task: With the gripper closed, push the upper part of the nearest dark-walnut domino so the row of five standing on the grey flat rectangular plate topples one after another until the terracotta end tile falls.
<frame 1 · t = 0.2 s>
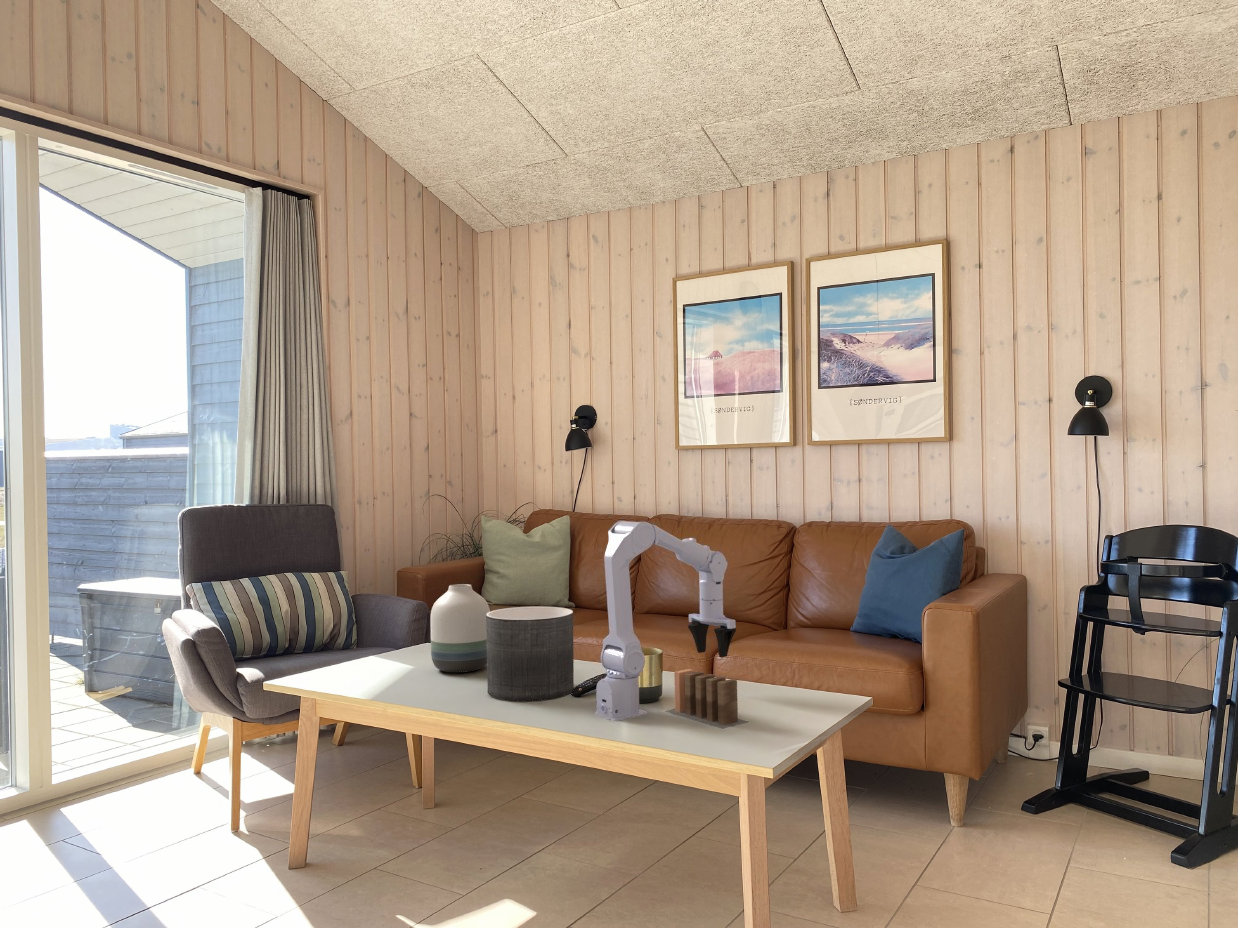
hand: (712, 654, 218), 10 cm above the table, fingers open, 7 cm apart
vase: (461, 670, 253), on the table
grey flat rectangular plate: (705, 717, 198), on the table
planter: (531, 692, 225), on the table
terracotta tile: (684, 709, 203), resting on grey flat rectangular plate
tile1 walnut: (728, 722, 192), resting on grey flat rectangular plate
tile2 walnut: (716, 719, 195), resting on grey flat rectangular plate
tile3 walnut: (705, 716, 198), resting on grey flat rectangular plate
tile4 walnut: (695, 712, 201), resting on grey flat rectangular plate
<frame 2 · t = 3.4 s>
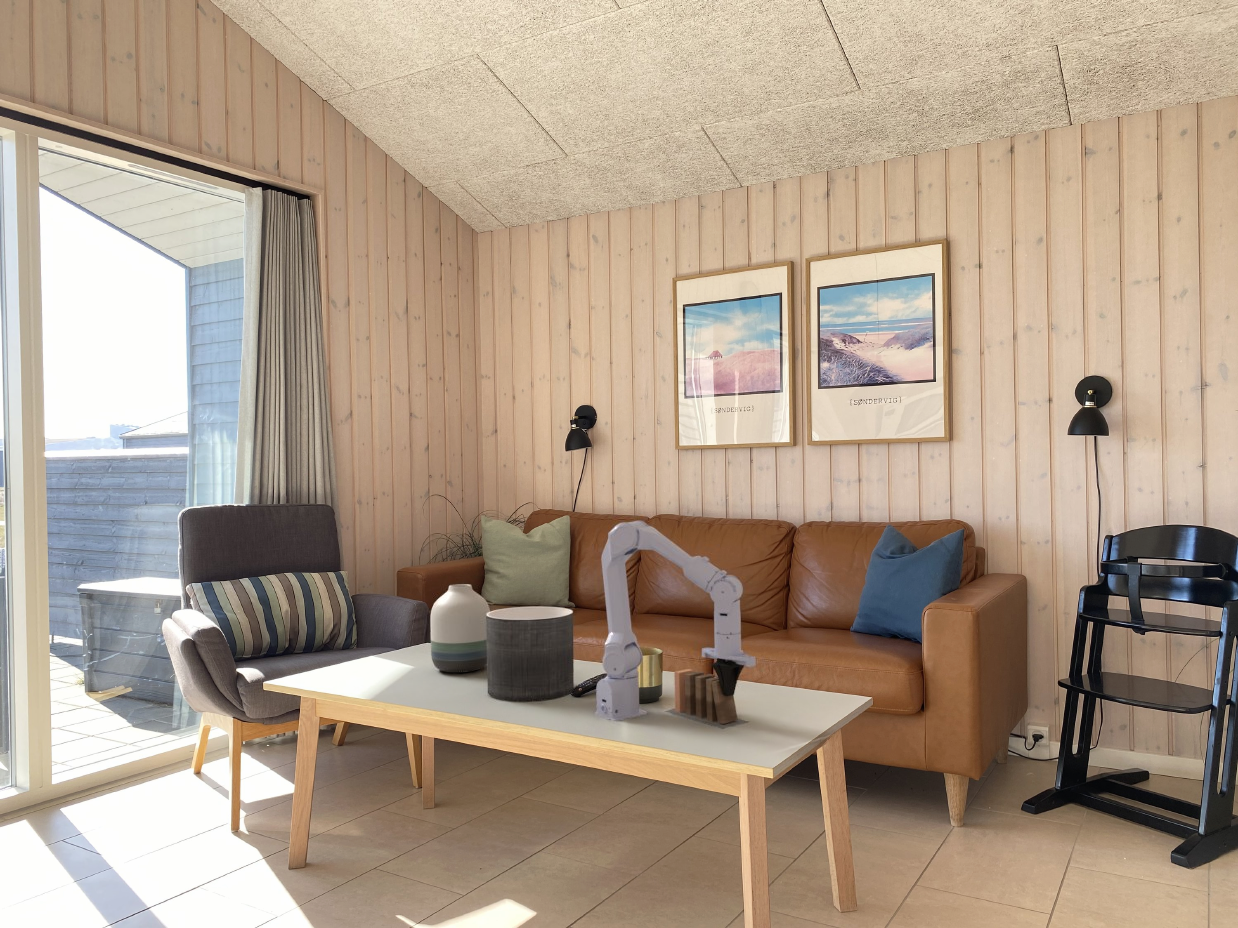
hand: (728, 694, 192), 6 cm above the table, fingers closed
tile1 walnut: (727, 721, 192), resting on grey flat rectangular plate, tilted 12°, touching gripper
everything else where it was.
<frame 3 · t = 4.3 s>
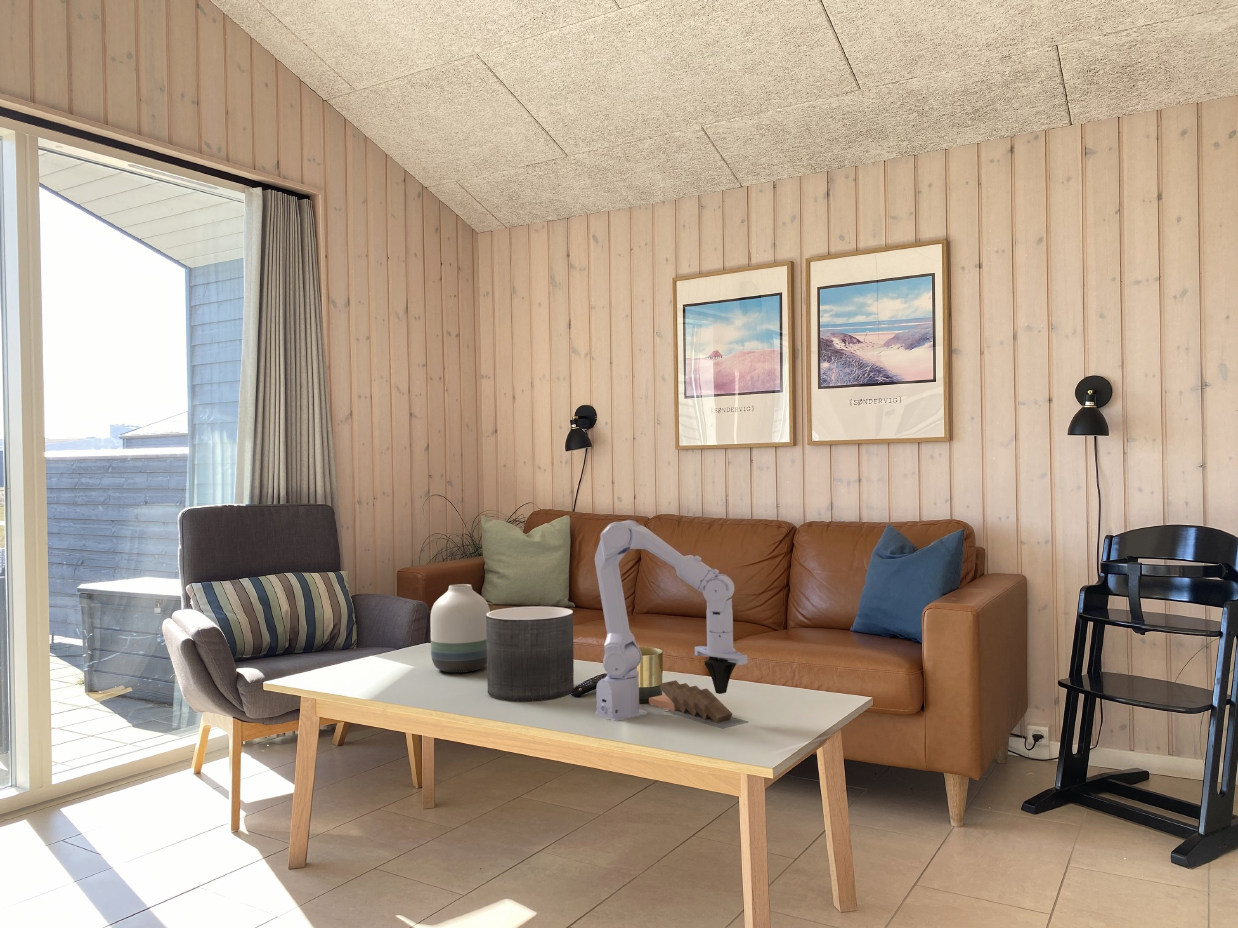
hand: (721, 692, 194), 6 cm above the table, fingers closed
terracotta tile: (681, 705, 204), point 1 cm above the table, tilted 92°, touching grey flat rectangular plate, tile4 walnut
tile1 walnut: (724, 718, 193), point 1 cm above the table, tilted 63°, touching grey flat rectangular plate, tile2 walnut
tile2 walnut: (712, 714, 196), point 1 cm above the table, tilted 63°, touching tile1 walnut, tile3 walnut
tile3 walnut: (702, 711, 199), point 1 cm above the table, tilted 63°, touching grey flat rectangular plate, tile2 walnut, tile4 walnut
tile4 walnut: (691, 708, 202), point 1 cm above the table, tilted 63°, touching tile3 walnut, terracotta tile
everything else where it was.
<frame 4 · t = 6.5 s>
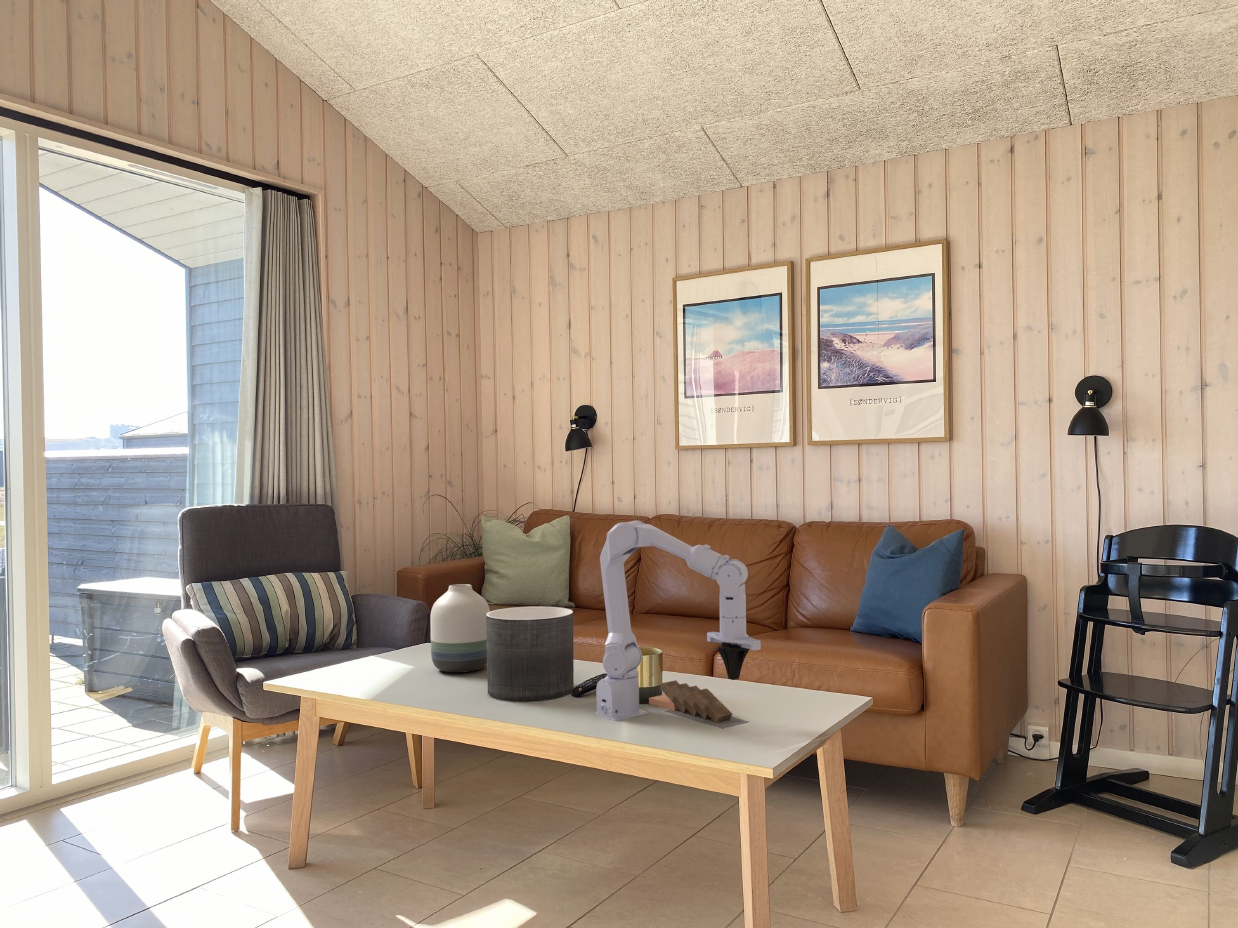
hand: (733, 678, 192), 10 cm above the table, fingers closed
nothing on the table moved.
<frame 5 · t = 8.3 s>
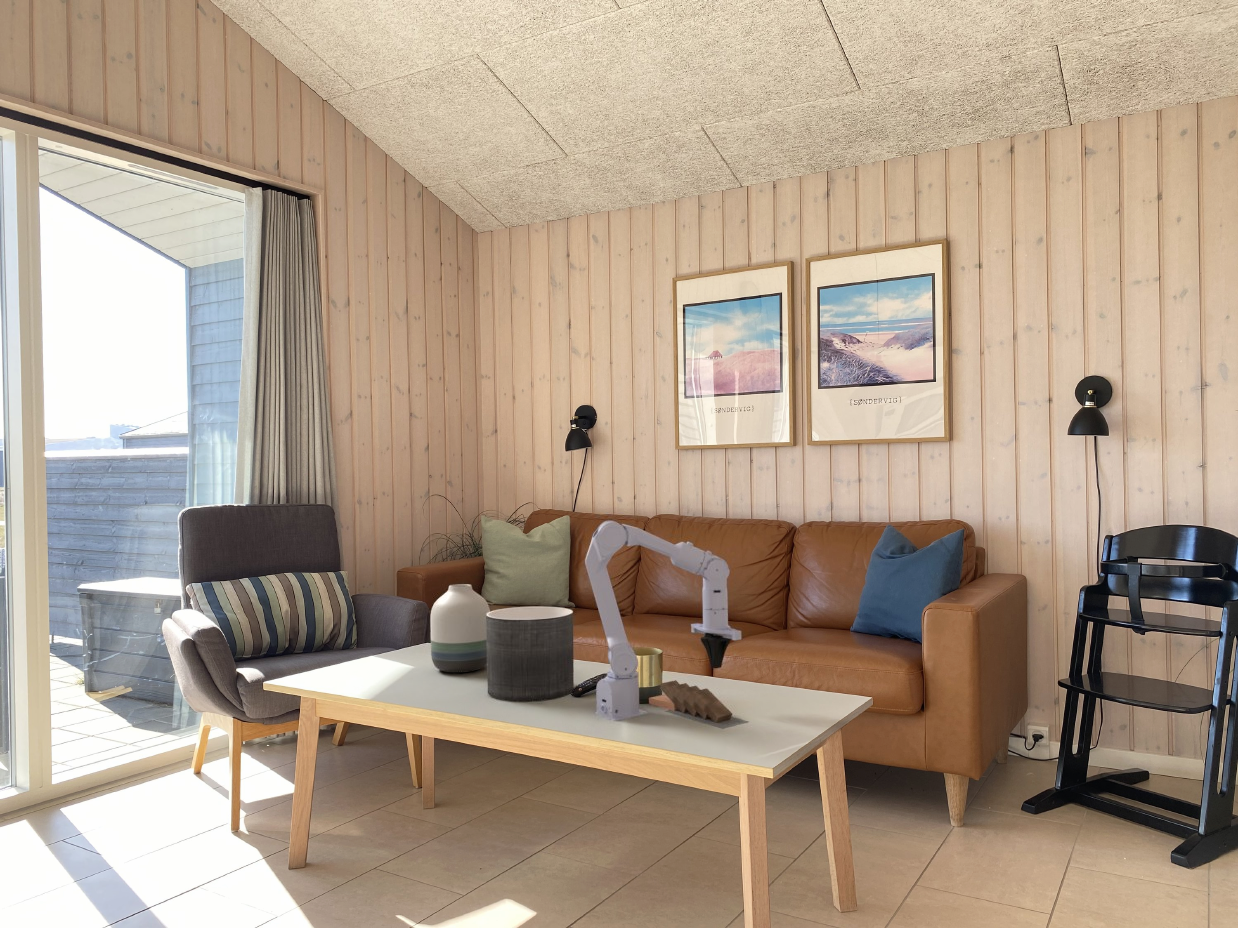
hand: (716, 667, 204), 10 cm above the table, fingers closed
nothing on the table moved.
at the end: terracotta tile tilted 92°; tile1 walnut tilted 63° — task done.
